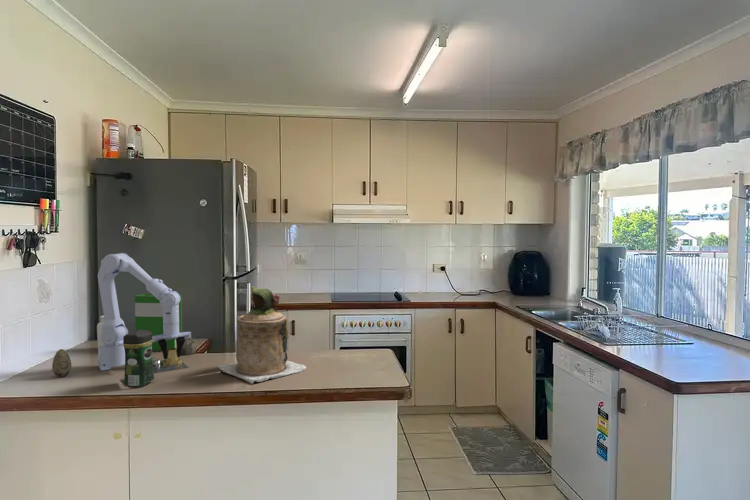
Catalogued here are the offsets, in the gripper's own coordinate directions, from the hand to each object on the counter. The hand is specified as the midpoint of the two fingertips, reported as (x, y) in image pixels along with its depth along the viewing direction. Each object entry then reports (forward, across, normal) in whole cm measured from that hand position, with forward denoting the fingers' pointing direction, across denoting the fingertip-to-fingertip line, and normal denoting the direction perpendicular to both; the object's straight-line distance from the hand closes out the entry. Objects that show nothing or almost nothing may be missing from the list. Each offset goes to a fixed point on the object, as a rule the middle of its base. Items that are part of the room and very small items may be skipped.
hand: (171, 357), depth 200 cm
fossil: (+4, +9, +16) cm, 18 cm away
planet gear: (+2, 0, 0) cm, 2 cm away
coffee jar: (+4, -15, -16) cm, 23 cm away
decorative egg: (+4, -36, +10) cm, 37 cm away
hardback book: (+4, +3, +34) cm, 34 cm away
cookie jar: (+4, +26, -27) cm, 37 cm away
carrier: (+3, -4, -1) cm, 5 cm away
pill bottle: (+4, -16, +46) cm, 48 cm away
